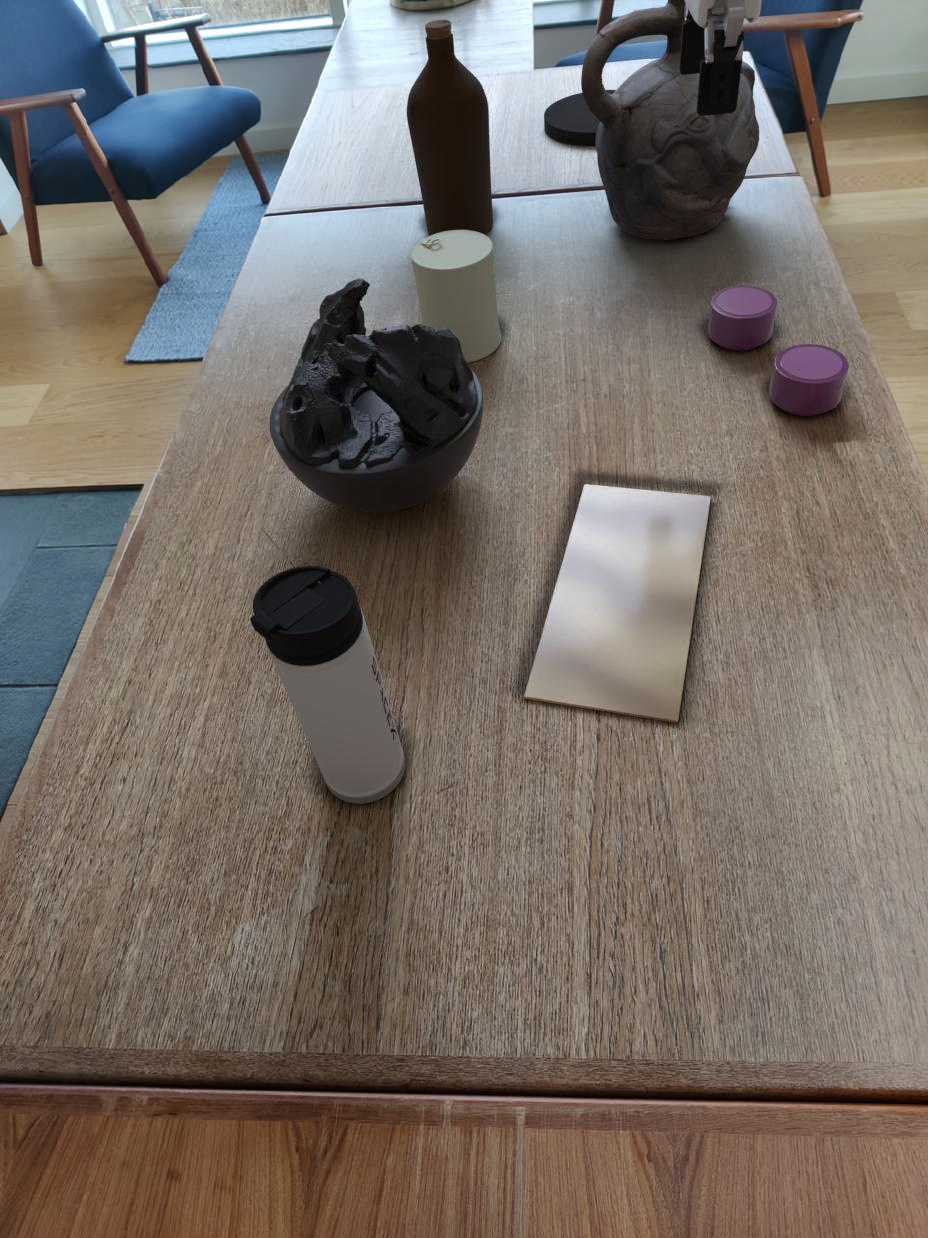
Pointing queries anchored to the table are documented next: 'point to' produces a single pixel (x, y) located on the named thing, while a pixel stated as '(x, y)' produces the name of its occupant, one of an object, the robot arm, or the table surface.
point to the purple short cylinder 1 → (742, 317)
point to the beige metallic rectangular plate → (623, 604)
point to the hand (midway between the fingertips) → (706, 91)
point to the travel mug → (331, 679)
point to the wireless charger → (571, 121)
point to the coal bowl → (376, 409)
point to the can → (459, 289)
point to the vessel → (665, 134)
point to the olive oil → (450, 139)
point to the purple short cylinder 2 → (808, 379)
